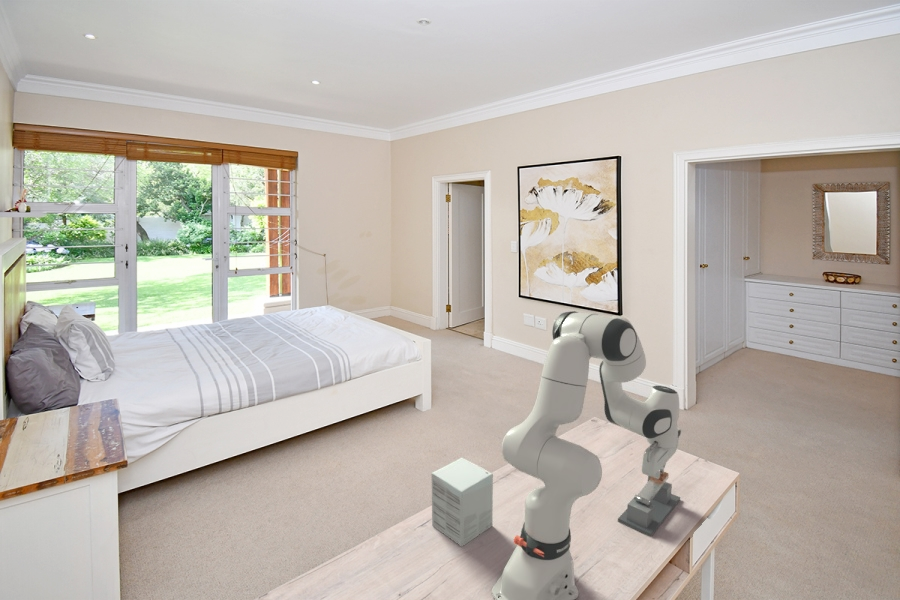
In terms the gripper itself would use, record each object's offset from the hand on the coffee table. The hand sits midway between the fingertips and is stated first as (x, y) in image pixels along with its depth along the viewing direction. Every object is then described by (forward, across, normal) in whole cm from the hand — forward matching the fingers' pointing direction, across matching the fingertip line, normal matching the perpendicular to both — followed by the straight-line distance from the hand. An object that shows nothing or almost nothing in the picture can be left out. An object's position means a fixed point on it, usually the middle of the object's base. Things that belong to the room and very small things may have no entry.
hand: (658, 475), depth 149 cm
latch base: (+10, -5, 0) cm, 11 cm away
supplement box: (+8, -51, +38) cm, 64 cm away
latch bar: (+3, -4, 0) cm, 5 cm away
